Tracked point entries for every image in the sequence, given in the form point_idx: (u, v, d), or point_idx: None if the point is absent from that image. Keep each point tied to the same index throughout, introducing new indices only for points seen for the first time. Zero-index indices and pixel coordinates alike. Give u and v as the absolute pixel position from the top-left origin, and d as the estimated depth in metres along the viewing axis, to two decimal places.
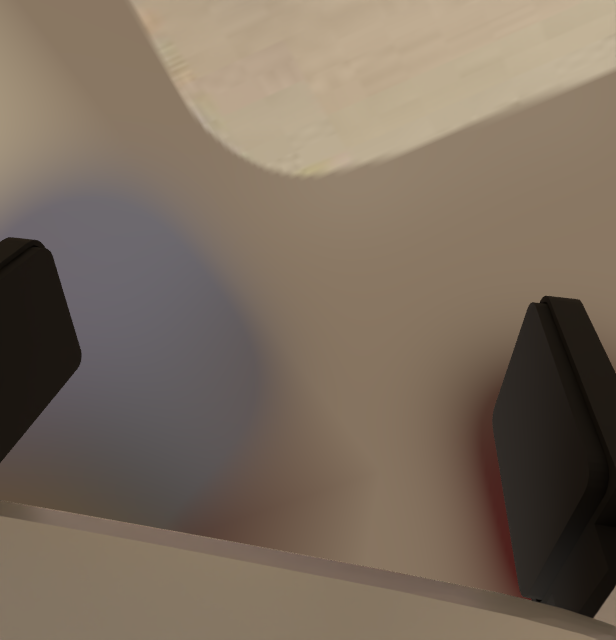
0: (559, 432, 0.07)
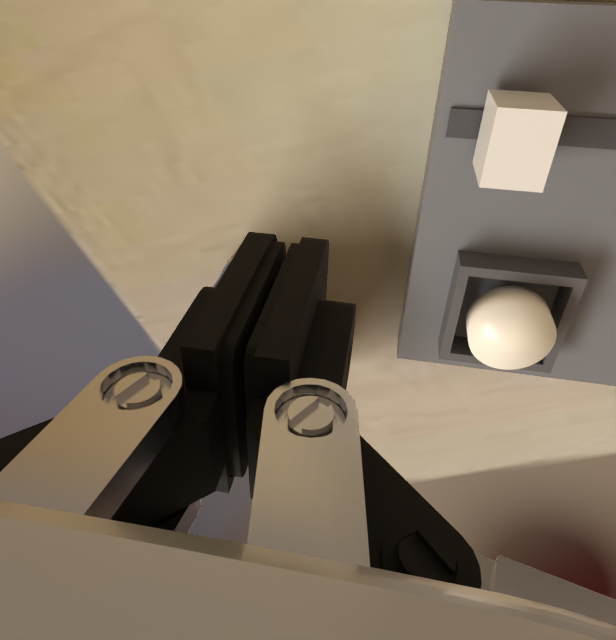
0: None
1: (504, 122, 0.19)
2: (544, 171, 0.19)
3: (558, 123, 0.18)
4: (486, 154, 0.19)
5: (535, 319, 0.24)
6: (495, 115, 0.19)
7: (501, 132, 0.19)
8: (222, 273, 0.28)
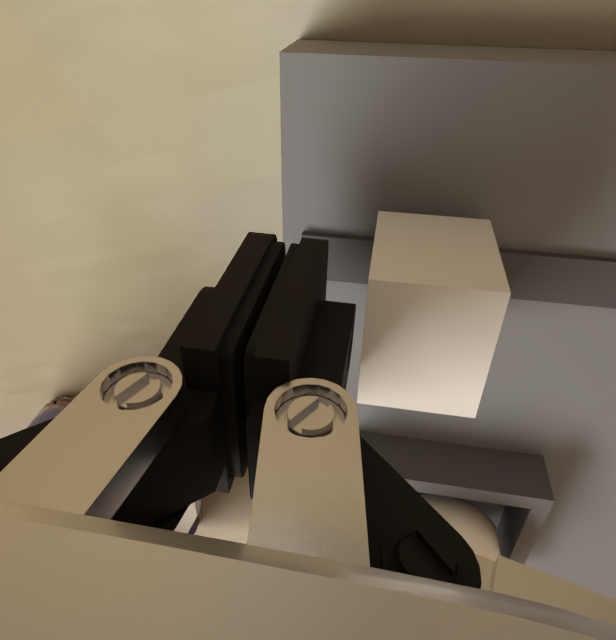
0: None
1: (386, 305, 0.09)
2: (475, 386, 0.10)
3: (494, 312, 0.09)
4: (362, 353, 0.10)
5: None
6: (367, 291, 0.09)
7: (383, 321, 0.09)
8: None
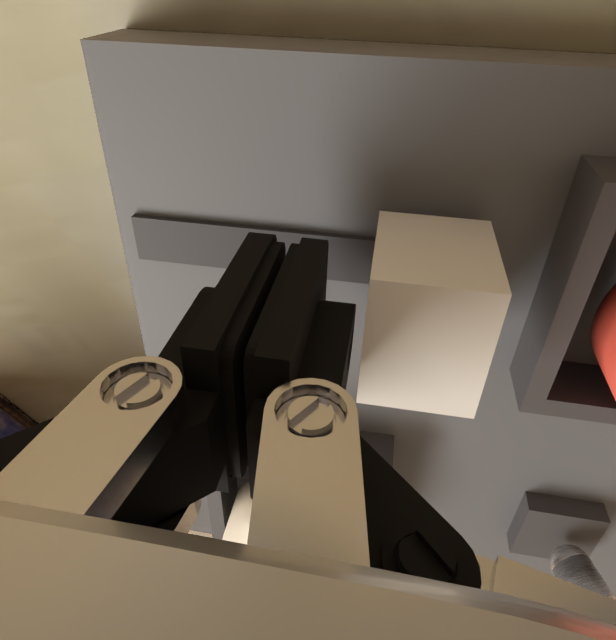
0: None
1: (387, 305, 0.09)
2: (474, 387, 0.10)
3: (495, 313, 0.09)
4: (362, 352, 0.10)
5: None
6: (369, 291, 0.09)
7: (384, 321, 0.09)
8: None
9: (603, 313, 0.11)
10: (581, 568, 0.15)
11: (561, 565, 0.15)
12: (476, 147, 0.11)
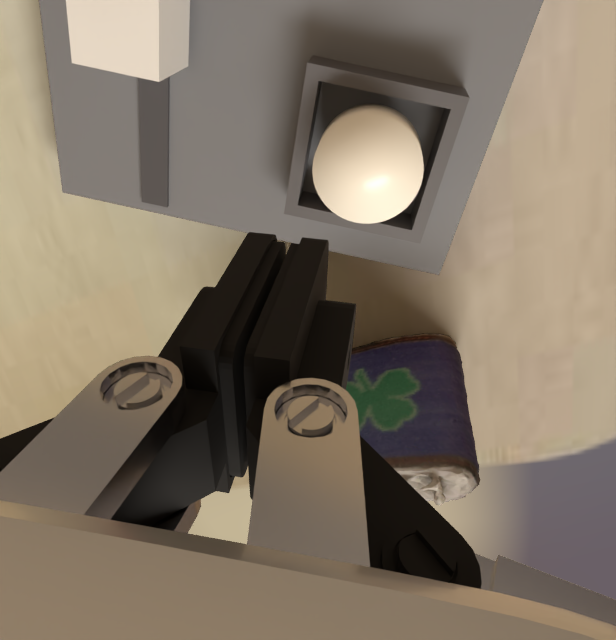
0: None
1: (85, 54, 0.17)
2: None
3: None
4: (123, 73, 0.17)
5: (338, 144, 0.18)
6: (82, 64, 0.17)
7: (96, 57, 0.17)
8: None
9: None
10: None
11: None
12: None
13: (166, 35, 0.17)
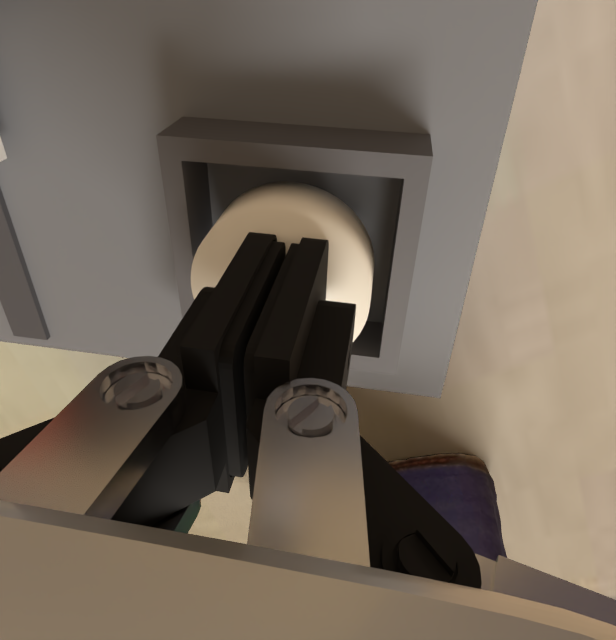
0: None
1: None
2: None
3: None
4: None
5: (222, 259, 0.11)
6: None
7: None
8: None
9: None
10: None
11: None
12: None
13: None
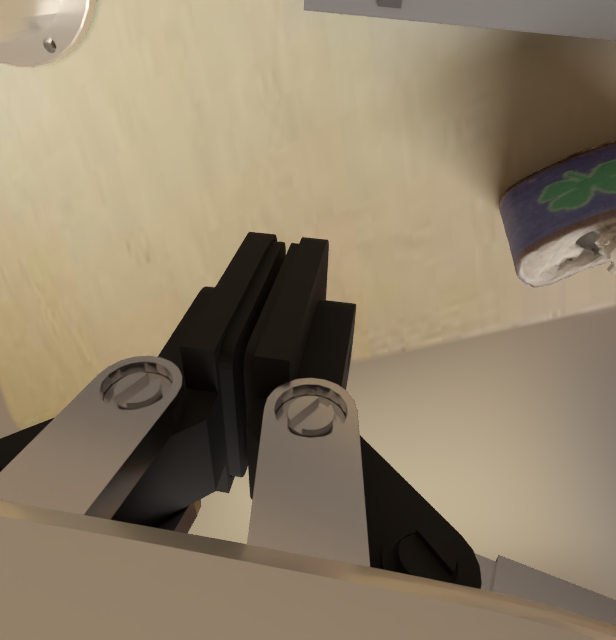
0: None
1: None
2: None
3: None
4: None
5: None
6: None
7: None
8: None
9: None
10: None
11: None
12: None
13: None
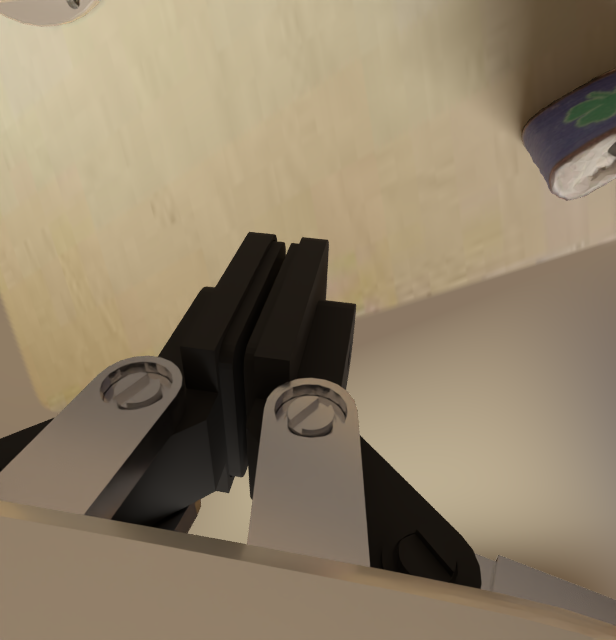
0: None
1: None
2: None
3: None
4: None
5: None
6: None
7: None
8: (530, 154, 0.32)
9: None
10: None
11: None
12: None
13: None
